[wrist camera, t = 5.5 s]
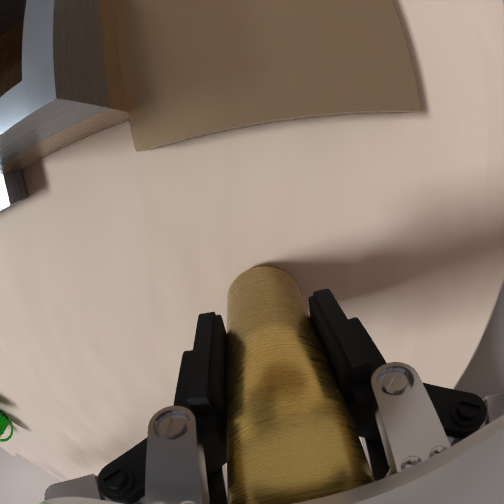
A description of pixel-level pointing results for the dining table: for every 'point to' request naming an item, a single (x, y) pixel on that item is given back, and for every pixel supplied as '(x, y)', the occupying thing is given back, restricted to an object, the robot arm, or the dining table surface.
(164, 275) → the dining table surface
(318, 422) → the hinge pin
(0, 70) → the hinge
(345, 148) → the dining table surface
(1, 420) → the chandelier
